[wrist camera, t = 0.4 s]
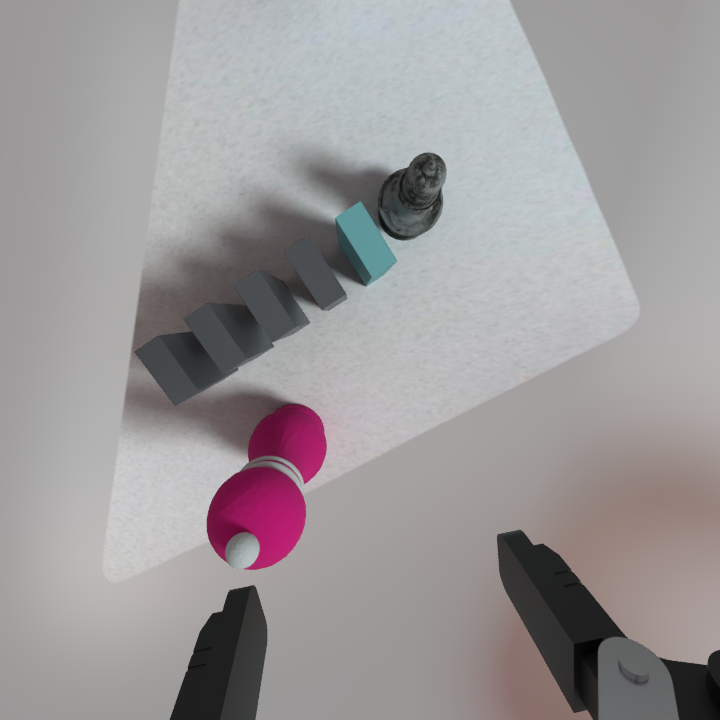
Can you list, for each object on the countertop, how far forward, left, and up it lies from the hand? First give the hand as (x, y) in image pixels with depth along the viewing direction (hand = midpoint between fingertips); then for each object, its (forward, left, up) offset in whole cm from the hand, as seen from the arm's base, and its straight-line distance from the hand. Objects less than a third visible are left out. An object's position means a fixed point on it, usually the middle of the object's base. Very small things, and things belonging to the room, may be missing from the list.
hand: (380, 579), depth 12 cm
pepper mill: (+4, -7, -27) cm, 28 cm away
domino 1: (-5, -15, -27) cm, 31 cm away
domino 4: (-12, -3, -27) cm, 29 cm away
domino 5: (-14, +1, -27) cm, 30 cm away
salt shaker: (-18, +6, -27) cm, 33 cm away
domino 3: (-9, -7, -27) cm, 29 cm away
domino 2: (-7, -11, -27) cm, 30 cm away
